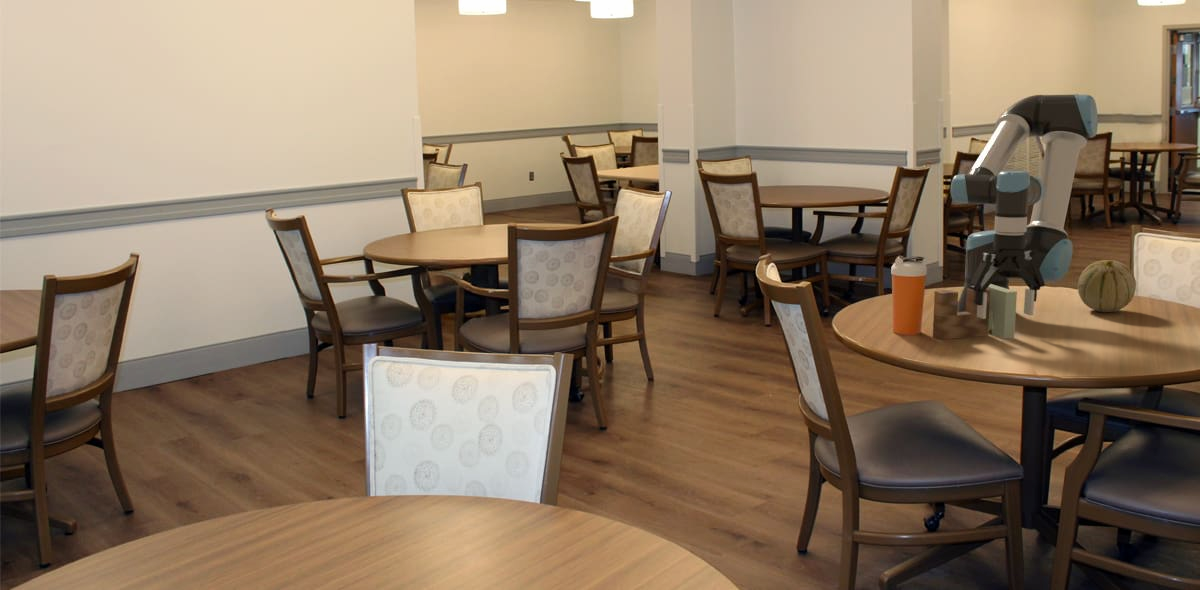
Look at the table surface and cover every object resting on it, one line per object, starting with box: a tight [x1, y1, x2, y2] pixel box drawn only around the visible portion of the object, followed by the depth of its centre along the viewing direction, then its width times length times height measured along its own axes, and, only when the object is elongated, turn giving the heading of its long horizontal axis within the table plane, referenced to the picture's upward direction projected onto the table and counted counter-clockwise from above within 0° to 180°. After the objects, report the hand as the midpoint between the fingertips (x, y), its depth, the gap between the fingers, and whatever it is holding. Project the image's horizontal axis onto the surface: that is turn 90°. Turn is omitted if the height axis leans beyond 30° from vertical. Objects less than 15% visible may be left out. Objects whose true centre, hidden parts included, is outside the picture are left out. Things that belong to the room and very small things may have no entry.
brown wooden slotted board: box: [932, 289, 990, 341], centre depth 258 cm, size 14×3×12 cm, turn 103°
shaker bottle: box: [890, 255, 928, 336], centre depth 263 cm, size 9×9×20 cm
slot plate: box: [987, 284, 1018, 340], centre depth 262 cm, size 14×3×12 cm, turn 13°
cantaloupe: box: [1077, 259, 1137, 313], centre depth 281 cm, size 15×15×15 cm
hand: (1004, 316), depth 257 cm, fingers open, 13 cm apart
